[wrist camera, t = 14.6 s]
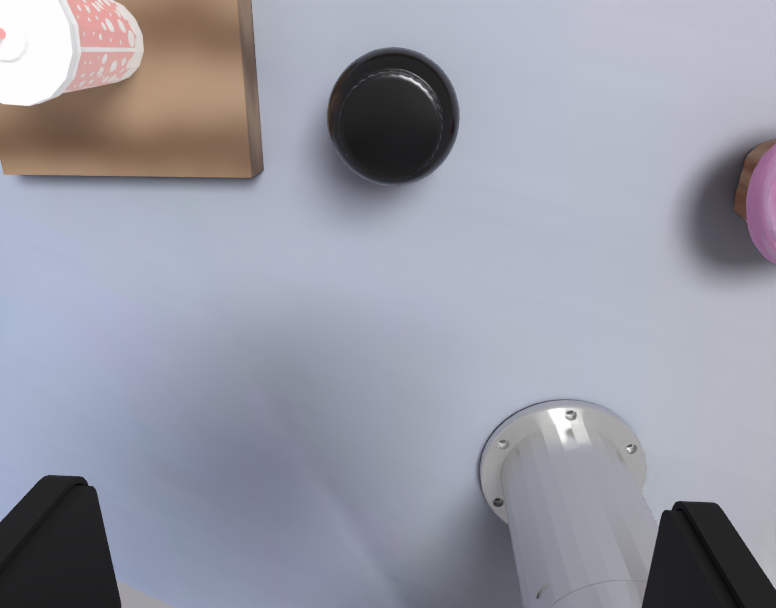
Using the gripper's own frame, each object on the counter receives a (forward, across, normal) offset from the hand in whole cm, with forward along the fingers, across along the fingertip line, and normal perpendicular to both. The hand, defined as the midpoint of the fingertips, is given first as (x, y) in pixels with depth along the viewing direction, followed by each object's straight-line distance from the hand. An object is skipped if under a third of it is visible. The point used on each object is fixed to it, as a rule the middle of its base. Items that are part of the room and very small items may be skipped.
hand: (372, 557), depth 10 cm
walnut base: (+32, +18, -9) cm, 38 cm away
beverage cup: (+30, +18, -9) cm, 36 cm away
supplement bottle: (+32, +1, -5) cm, 33 cm away
